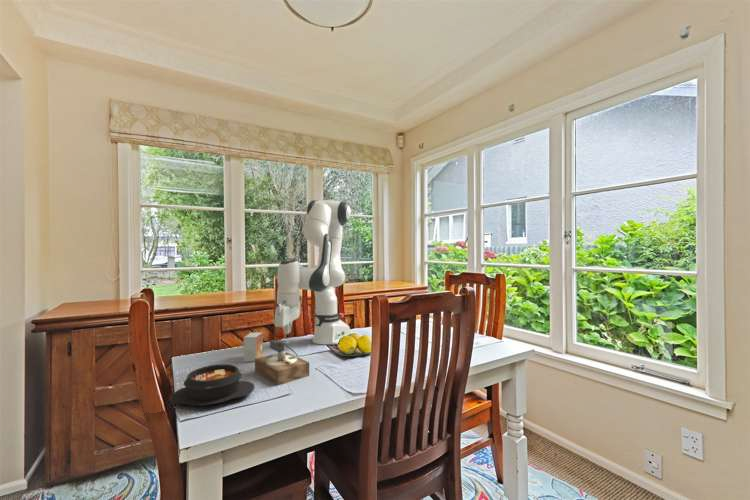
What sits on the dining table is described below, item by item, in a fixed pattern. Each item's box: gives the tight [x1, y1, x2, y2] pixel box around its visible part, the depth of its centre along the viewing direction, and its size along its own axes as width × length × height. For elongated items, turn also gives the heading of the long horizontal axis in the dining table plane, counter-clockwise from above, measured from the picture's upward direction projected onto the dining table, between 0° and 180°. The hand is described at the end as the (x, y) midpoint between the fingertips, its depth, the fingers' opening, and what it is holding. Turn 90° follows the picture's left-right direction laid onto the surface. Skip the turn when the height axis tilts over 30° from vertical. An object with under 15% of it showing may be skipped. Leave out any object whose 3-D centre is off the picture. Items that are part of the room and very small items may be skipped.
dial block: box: [254, 351, 310, 386], centre depth 132 cm, size 13×18×5 cm
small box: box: [243, 332, 264, 362], centre depth 149 cm, size 8×6×10 cm
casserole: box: [168, 363, 255, 407], centre depth 112 cm, size 25×19×8 cm
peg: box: [269, 339, 291, 363], centre depth 132 cm, size 13×4×7 cm, turn 45°
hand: (287, 333), depth 140 cm, fingers closed
